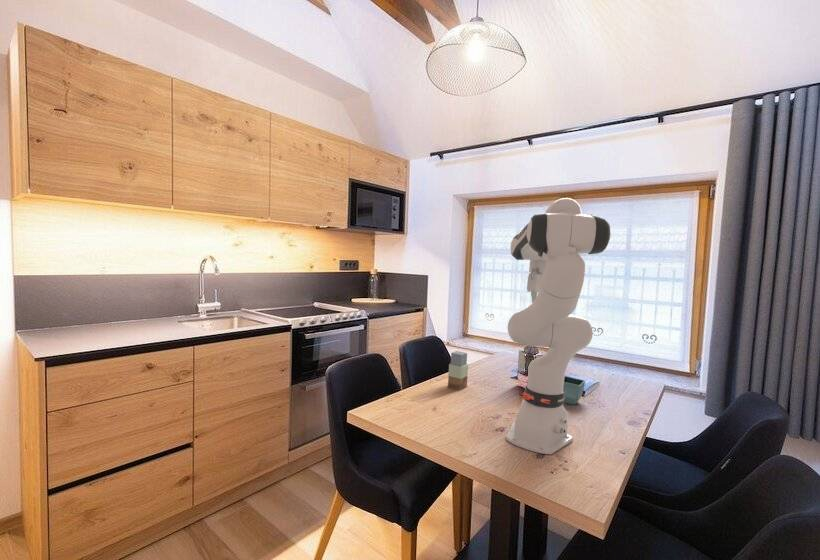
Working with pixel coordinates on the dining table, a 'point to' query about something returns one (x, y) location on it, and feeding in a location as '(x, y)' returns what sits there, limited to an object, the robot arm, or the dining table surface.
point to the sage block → (458, 371)
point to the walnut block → (457, 383)
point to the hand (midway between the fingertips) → (538, 302)
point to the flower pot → (573, 389)
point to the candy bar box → (523, 360)
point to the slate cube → (458, 358)
